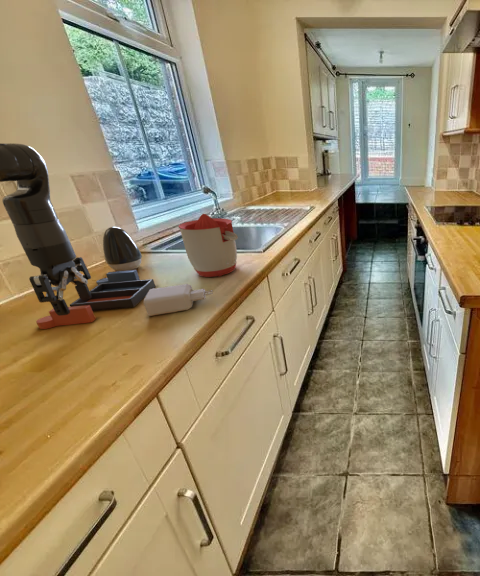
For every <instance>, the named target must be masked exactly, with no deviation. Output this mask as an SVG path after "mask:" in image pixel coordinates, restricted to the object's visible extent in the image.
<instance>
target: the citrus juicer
mask: <svg viewBox="0 0 480 576" xmlns="http://www.w3.org/2000/svg"><path fill="white" fill-rule="evenodd" d="M177 227H178V229H179V230H180V234H181V239H182V242H183V246H184V250H185V254H186V256H187V258H188V260H189V262H190V264H191V266H192V267H193V270H194V271H195V272H196V274H198V276H200V277H205V278H211V277H222V276H224V275H228V274H230V273H232V272H234V271H235V270H236V268H237V267H236V266H237V258H238V250H237V249H238V248H237V243H236V240H238V239H239V237H238V235H237V233H235V232H234V228H233V220H232V219H229V218H220V217H219V218H217V217H216V218H215V217H214V218H212V217H211V216H209V215H208V214H206V213H202V214H201V215H199V217H198V219H195V220H190V221H185V222H183V223H180V224H179V225H178V226H177Z"/></svg>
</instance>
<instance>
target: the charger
mask: <svg viewBox="0 0 480 576" xmlns="http://www.w3.org/2000/svg"><path fill="white" fill-rule="evenodd" d="M213 292H214V290H206V289H205V288H200V289H193V286H192V285H191V284H189V283H184V284H176V285H168V286H162V287H154V288H153V289H150V290H149V292H148V293H147V295H146V296H145V297H144V298H143V307H144V309H145V311H146V314H147V316H148V317H153V316H158V315H164V314H165V315H166V314H170V313H171V314H172V313H176V312H183V311H188V310H189V309H191V308H192V307H193V305H194V302H196V301H197V302H198V301H202V300H206V297H207V296H209V295H214V293H213Z"/></svg>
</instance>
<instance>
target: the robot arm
mask: <svg viewBox="0 0 480 576" xmlns="http://www.w3.org/2000/svg"><path fill="white" fill-rule="evenodd" d="M9 182H16V190H15V191H14V192H11V193H9V194H7V195H5V196H3V198H2V199H1V200H2V201H1V202H2V205H3V207H4V210H5V211H6V213H7V215H8V218H9V219H10V221H11V223H12V225H13V228H14V232H15V235H16V237H17V239H18V241H19V243H20V245H21V247H22V249H23V251H24V253H25V256H26V258H27V259H28V261H29V263H30V265H31V266H34V267H37V268H38V269H39V272H40V274H38V275H33V276H29V281H30V284H31V287H32V288H33V291H34V294H35V295H36V297H37V300H38V302H39V303H50V304H51V307H52V309H54V310H55V313H56V314H57V315H59V316H61V315H68V314H69V313H70V310H69V308H68V307H69V306H68V304H67V302H66V300H65V298H64V292H65V291H66V290H67V286H68V285H69V284H70V283H71V284H72V285H74V288H75V291H76V293H77V295H78V298H80V299H82V300H84V299H90V298H91V297H92V296H91V294H90V289H89V286H88V284H89V281H88V280H91V279H92V276H91V274H90V271H89V269H88V267H87V265H86V263H85V261H84V259H83V257H81V256H79V257H77V255H76V252H75V249H74V248H73V246H72V243H71V241H70V239H69V236H68V234H67V232H66V229H65V227H64V226H63V224H62V222H61V221H60V219H59V217H58V214H57V213H56V210H55V207H54V206H53V203H52V200H51V189H50V179H49V170H48V166H47V164H46V161H45V160H44V158H43V157H42V156H41V155H40V153H39V152H37V150H35V149H34V148H33V147H31V146H29V145H26V144H23V143H3V142H2V143H0V183H9ZM81 272H82V273H81ZM55 292H56V294H55ZM44 293H45V294H44Z"/></svg>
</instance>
